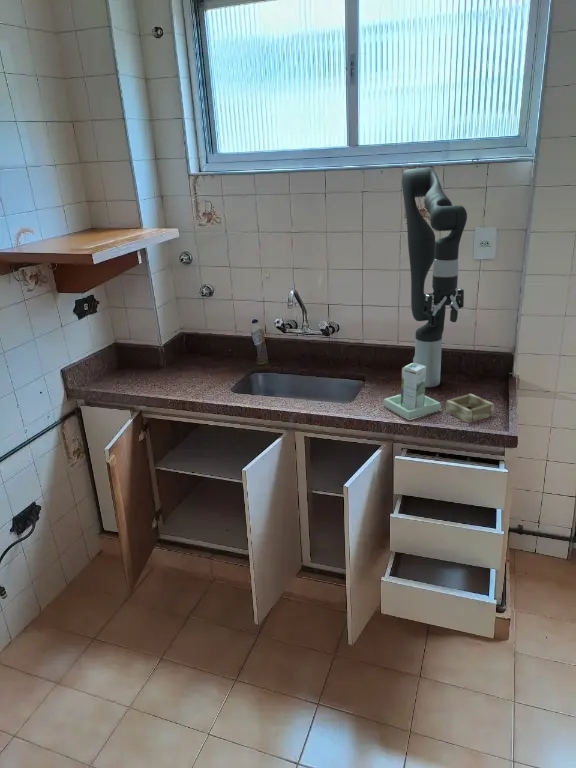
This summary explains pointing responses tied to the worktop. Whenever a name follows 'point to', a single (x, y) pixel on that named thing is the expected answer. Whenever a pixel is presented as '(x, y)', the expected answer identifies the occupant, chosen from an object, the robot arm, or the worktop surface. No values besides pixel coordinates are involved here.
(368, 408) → the worktop surface
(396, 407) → the tray
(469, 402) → the collar
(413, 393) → the syrup box
